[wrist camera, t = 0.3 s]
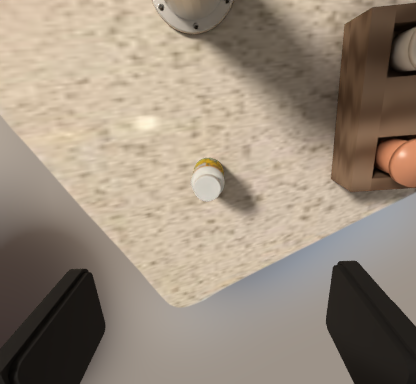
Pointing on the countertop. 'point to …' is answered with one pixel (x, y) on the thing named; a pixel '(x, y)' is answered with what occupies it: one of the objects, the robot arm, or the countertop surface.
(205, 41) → the countertop surface
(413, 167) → the orange-brown round piece
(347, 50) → the wooden shaker caddy
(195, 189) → the supplement bottle
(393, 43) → the cream button
